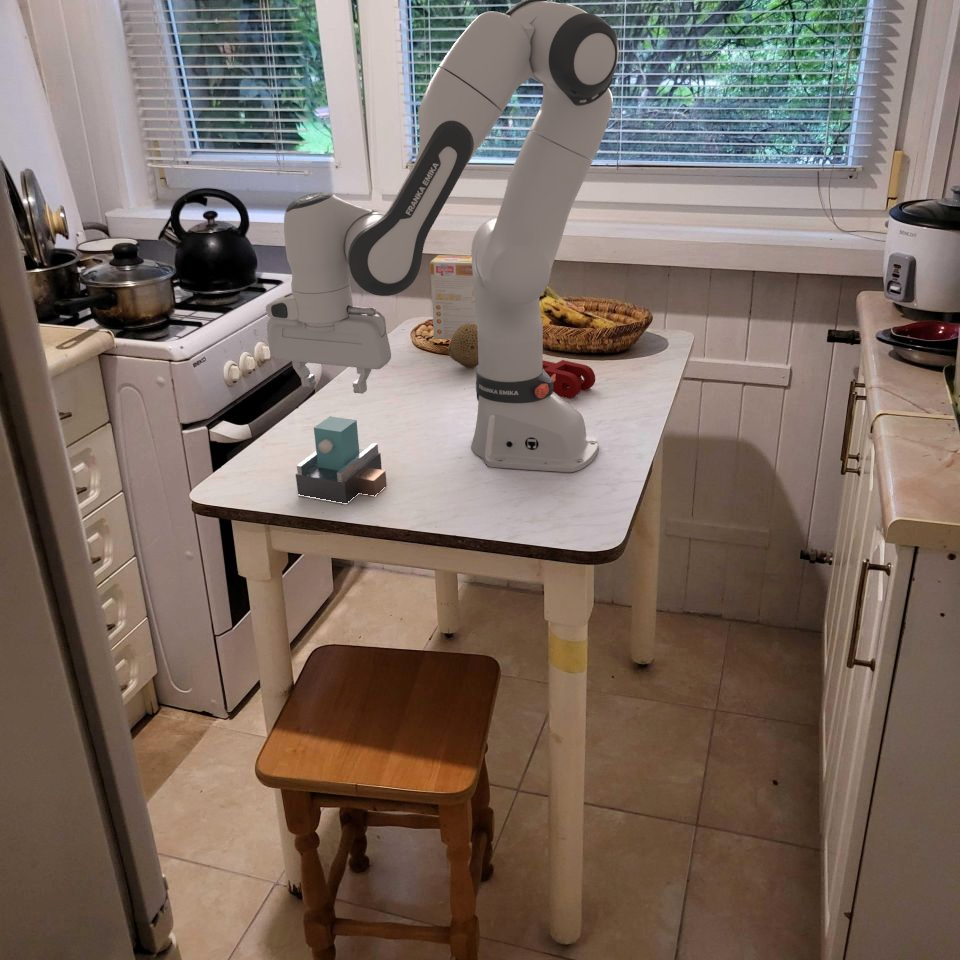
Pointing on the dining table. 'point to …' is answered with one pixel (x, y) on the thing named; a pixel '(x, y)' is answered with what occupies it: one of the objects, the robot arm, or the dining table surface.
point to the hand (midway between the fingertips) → (334, 389)
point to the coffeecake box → (452, 294)
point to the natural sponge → (465, 346)
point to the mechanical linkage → (569, 377)
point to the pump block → (336, 442)
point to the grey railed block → (342, 477)
